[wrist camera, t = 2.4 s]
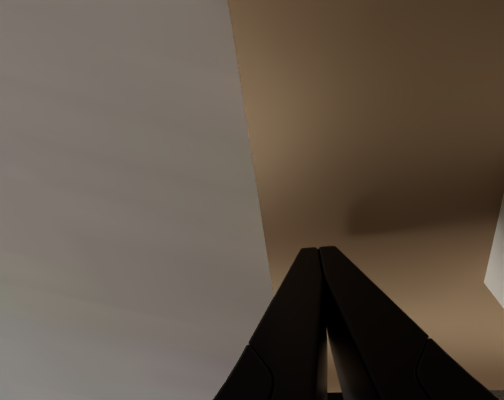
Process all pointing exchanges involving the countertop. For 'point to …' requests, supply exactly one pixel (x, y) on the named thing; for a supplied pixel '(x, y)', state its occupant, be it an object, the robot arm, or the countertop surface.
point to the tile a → (497, 261)
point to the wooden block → (384, 152)
